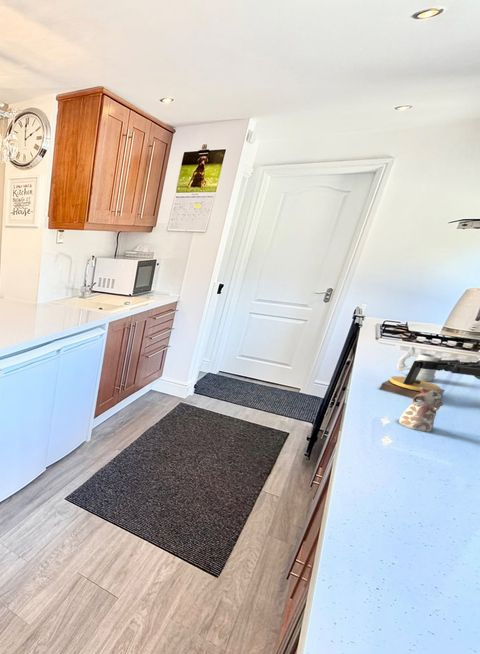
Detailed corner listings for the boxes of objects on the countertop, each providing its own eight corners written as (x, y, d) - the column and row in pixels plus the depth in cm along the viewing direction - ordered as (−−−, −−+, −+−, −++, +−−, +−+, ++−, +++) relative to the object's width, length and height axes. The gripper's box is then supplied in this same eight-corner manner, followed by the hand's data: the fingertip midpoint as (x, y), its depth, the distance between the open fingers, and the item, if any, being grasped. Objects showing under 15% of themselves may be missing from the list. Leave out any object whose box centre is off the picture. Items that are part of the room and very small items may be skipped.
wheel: (445, 395, 141) (460, 368, 137) (395, 386, 147) (408, 360, 143) (431, 384, 151) (444, 359, 147) (385, 376, 157) (397, 352, 153)
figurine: (424, 433, 119) (444, 396, 115) (393, 422, 125) (411, 387, 120) (435, 429, 122) (455, 393, 117) (404, 418, 128) (422, 384, 123)
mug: (431, 383, 161) (446, 354, 157) (391, 374, 170) (404, 347, 165) (433, 379, 166) (448, 351, 161) (394, 370, 174) (406, 344, 169)
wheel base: (441, 396, 148) (445, 389, 147) (431, 403, 141) (435, 396, 140) (390, 383, 159) (393, 377, 158) (379, 389, 152) (382, 383, 151)
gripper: (510, 387, 136) (434, 381, 138) (470, 373, 148) (401, 368, 150) (523, 366, 133) (445, 360, 135) (481, 354, 145) (410, 349, 147)
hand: (422, 364), depth 143 cm, fingers closed
